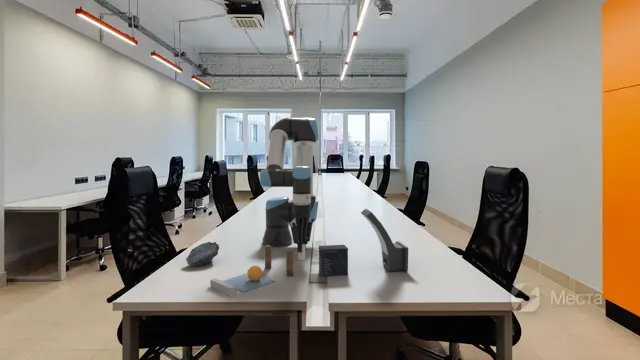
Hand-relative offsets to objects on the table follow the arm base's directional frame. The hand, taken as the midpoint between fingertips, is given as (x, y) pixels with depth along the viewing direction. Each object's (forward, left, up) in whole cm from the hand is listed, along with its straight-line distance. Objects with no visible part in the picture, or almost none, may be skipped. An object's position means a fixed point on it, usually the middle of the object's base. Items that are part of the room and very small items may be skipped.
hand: (301, 259), depth 152 cm
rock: (-31, -27, -2) cm, 41 cm away
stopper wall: (0, -38, -2) cm, 39 cm away
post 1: (-6, -13, -2) cm, 15 cm away
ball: (+1, -25, +1) cm, 26 cm away
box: (+17, 0, -2) cm, 17 cm away
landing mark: (0, -28, -2) cm, 28 cm away
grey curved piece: (+29, +17, -2) cm, 34 cm away
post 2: (+6, -13, -2) cm, 15 cm away
